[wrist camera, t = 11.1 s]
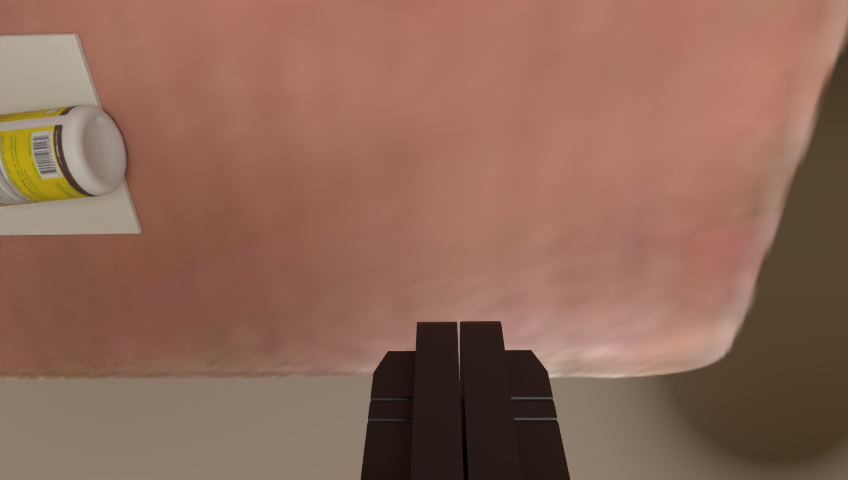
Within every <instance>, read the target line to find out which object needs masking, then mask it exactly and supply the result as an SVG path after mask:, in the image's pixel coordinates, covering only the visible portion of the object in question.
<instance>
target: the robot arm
mask: <svg viewBox="0 0 848 480" xmlns="http://www.w3.org/2000/svg"><path fill="white" fill-rule="evenodd" d="M361 480H570V477H569V472H568V468H567V462H566V458H565V453H564V448H563V443H562V438H561V434H560V429H559V424H558V422H557V415H556V410H555V406H554V402H553V395H552V391H551V386H550V381H549V376H548V372H547V370H546V369H545V368H544V366H543V365H542V364H541V362H540V361H539V360H538V358H537V357H536V356H535V355H534V353H533V352H532V351H531V350H505V348H504V340H503V333H502V326H501V322H500V321H463V322H460V381H459V357H458V333H457V322H417V334H416V351H388V352H387V353H386V355H385V356H384V358H383V359H382V361H381V362H380V364H379V365H378V367H377V368H376V370H375V371H374V374H373V383H372V390H371V402H370V407H369V415H368V424H367V431H366V440H365V448H364V457H363V465H362V474H361Z"/></svg>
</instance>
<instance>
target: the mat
mask: <svg viewBox="0 0 848 480" xmlns="http://www.w3.org/2000/svg"><path fill="white" fill-rule="evenodd" d="M80 105H90V106H94V107H97V108H99V109H101V110H102V111H103V109H102V106H101V103H100V100H99V97H98V94H97V90H96V87H95V84H94V81H93V78H92V75H91V72H90V69H89V66H88V63H87V60H86V57H85V54H84V51H83V47H82V44H81V41H80V38H79V35H78V33H58V34H13V35H0V115H5V114H13V113H21V112H30V111H38V110H46V109H55V108H63V107H71V106H80ZM141 231H142V229H141V226H140V223H139V220H138V217H137V214H136V210H135V207H134V204H133V201H132V198H131V195H130V192H129V189H128V186H127V183H126V180H125V177H123V180H122V182H121V183H120V185H119V186H118V187H117V188H116V189H115V190H114V191H113V192H111V193H109V194H106V195H102V196H94V197H85V198H76V199H66V200H57V201H47V202H38V203H29V204H19V205H9V206H0V235H61V234H139V233H141Z"/></svg>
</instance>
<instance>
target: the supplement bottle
mask: <svg viewBox="0 0 848 480" xmlns="http://www.w3.org/2000/svg"><path fill="white" fill-rule="evenodd" d="M125 170H126V151H125V146H124V142H123V139H122V136H121V134H120V131H119V129H118V127H117V126H116V124H115V123H114V121H113V120H112V119H111V118H110V117H109V116H108V115H107V114H106V113H105V112H104V111H102V110H101V109H99V108H97V107H94V106H90V105H80V106H71V107H63V108H55V109H46V110H38V111H30V112H21V113H13V114H5V115H0V206H9V205H19V204H29V203H38V202H47V201H57V200H66V199H76V198H85V197H94V196H102V195H106V194H109V193H111V192H113V191H114V190H115V189H116V188H117V187H118V186H119V185H120V183H121V182H122V180H123V177H124V174H125Z"/></svg>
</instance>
